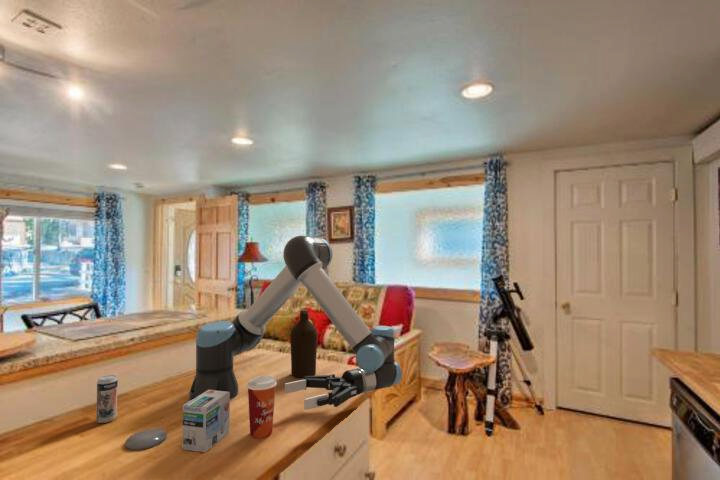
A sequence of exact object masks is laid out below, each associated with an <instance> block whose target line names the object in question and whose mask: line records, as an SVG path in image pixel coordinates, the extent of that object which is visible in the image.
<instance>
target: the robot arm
mask: <svg viewBox="0 0 720 480" xmlns="http://www.w3.org/2000/svg"><path fill="white" fill-rule="evenodd" d="M332 249H333V248H332V246H331V244H330V243H329V242H328V241H327V240H326V239H324V238H322V237H319V236H308V235H297V236H294V237H292V238H290V239H289V240H288V241H287V242H286V244H285V246H284V248H283V253H282V256H283V257H282V258H283V261H284V264H285V266H284V267H283V269H281V270H280V272H279V273H278V274H277V275H276V276H275V277H274V279H273V280H272V281H271V282H270V283H269V284H268V286H267V287H266V288H265V289H264V290H263V292H262V293H261V294H260V295H259V297H257V298H256V300H255V301H254V302H253V303H252V304H251V305H250V307H248V309H247V310H242V311H240V312H239V313H238V314H237V315H236V316H235V318H234V319H233V320H232V321H228V320H220V321H218V320H217V321H214V322H209V323H205V324H203V325H202V326H200V327H199V328H198V329H197V332H196V338H195V350H196V351H195V376H194V379H193V381H192V384H191V387H190V390H189V401H191V400H192V399H194V398H196V397H197V396H199V395H201V394H202V393H204V392H206V391H207V390H216V391H226V392H230V400H231V399H233V398H235V397H236V396H237V395H238V394H239V383H238V380H237V377H236V374H235V371H234V357H236V356H238V355H241V354H242V353H245V352H248V351H251V350H253V349H254V348H256V347H257V346H258V345H259V344H260V343H261V342H262V339H263V336H264V334H265V332H266V329H267V327H266V325H268V323H269V322H270V321H271V319H272V318H273V317H274V316H275V315H276V314H277V313H278V312H279V310H280V309H281V308H282V307H283V306H284V305H285V304H286V302H287V301H288V300H289V299H290V298H291V297H292V296H293V294H295V292H296V291H297V290H298V289H299V288H300V286H301V285H304V287H305V288H306V289H307V291H308V293H310V295H311V296H312V298H313V299H314V300H315V301H316V303H317V304H318V306H319V307H320V308H321V310H322V311H323V312H324V314H325V315H326V316H327V317H328V319H329V320H330V321H331V323H332V324H333V325H334V327H335V328H336V330H337V331H338V332H339V333H340V335H341V336H342V337H343V338H344V340H345V342H346V343H347V344H348V345H349V347H350V349H351V350H352V351H353V352H354V353H355V360H356V364H357V366H358V367H357V368H353V369H349V370H348V369H347V370H345V371H344V372H343V374H342V375H341V377H340V376H336V374H334V373H333V374H332V373H331V374H328V375H327V374H324V375H320V374H319V375H314V376H304V378H303V379H300V380H296V381H290V382H286V383H284V393H285V394H290V393H294V392H299V391H303V390H307V388H309V389H311V388H313V389H314V388H315V389H325V390H326V391H328V394H327V393H323V394H319V395H315V396H311V397H306V398H304V399H303V400H304V401H303V402H304V405H303V407H304V410H305V411H307V410H311V409H315V408H320V407H323V406H324V407H325V406H326V405H327V406H332V405H333V407H335V408H337V407H339V406H341V405H342V404H344V403H345V402H347V401H348V400H349V399H352V398H354V397H356V396H358V395H359V396H360V395H361V394H368V393H369V392H373V391H377V390H380V389H381V390H382V389H386V388H391V387H393V386H396V385H398V384H399V383H400V382H401V381H402V378H403V371H402V368H401V365H400V364H399V363H398V361H395V339H396V338H395V329H394V328H393V327H391V326H388V325H376V326H373V327H372V328H371V330H370V328H369V327H368V326H367V325H366V323H365V322H364V321H363V319H362V318H361V316H360V315H359V314H358V313H357V312H356V310H355V309H354V308H353V306H352V305H351V304H350V302H349V301H348V300H347V298H346V297H345V296H344V295H343V294H342V292H341V291H340V290H339V289H338V287H337V286H336V284H335V283H334V282H333V281H332V279H331V278H330V277H329V276H328V274H327V273H326V271H325V270H324V269H325V268H327V267H328V266H329V265H330V263H331V262H332V260H333V250H332ZM329 391H331V392H329Z"/></svg>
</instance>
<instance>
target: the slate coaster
mask: <svg viewBox="0 0 720 480" xmlns="http://www.w3.org/2000/svg"><path fill="white" fill-rule="evenodd" d="M167 437H168V435H167V431H166V430H164V429H162V428H151V429H145V430H142V431H139V432H136V433H134V434H132V435H130V436H129V437H128V438H126V440H125V448H126V450H130V451H144V450H148V449H152V448H154V447H157V446H159V445H160V444H162V443H164V442H165V440H167Z"/></svg>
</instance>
